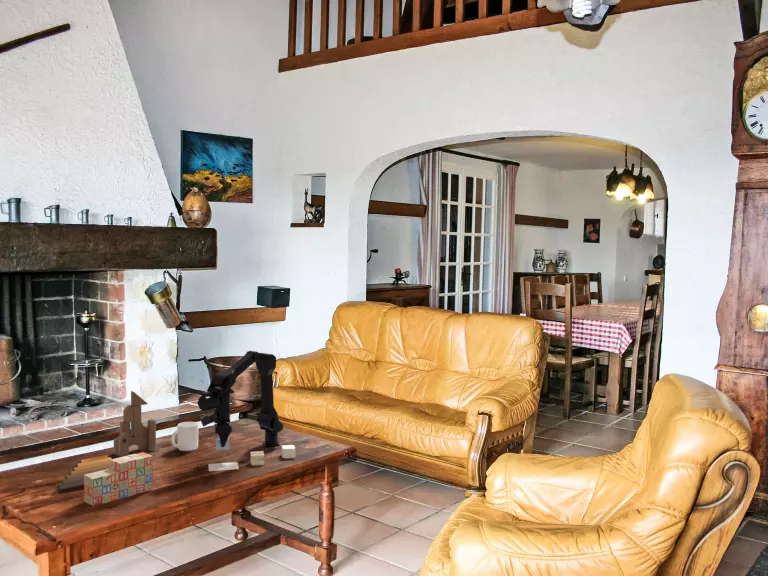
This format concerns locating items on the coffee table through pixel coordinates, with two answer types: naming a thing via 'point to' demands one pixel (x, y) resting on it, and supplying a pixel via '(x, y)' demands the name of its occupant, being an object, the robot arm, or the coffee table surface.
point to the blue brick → (218, 444)
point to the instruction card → (223, 466)
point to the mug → (186, 436)
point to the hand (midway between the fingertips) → (222, 444)
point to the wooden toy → (135, 429)
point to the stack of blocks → (119, 479)
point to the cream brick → (288, 451)
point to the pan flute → (83, 473)
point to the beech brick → (257, 458)
